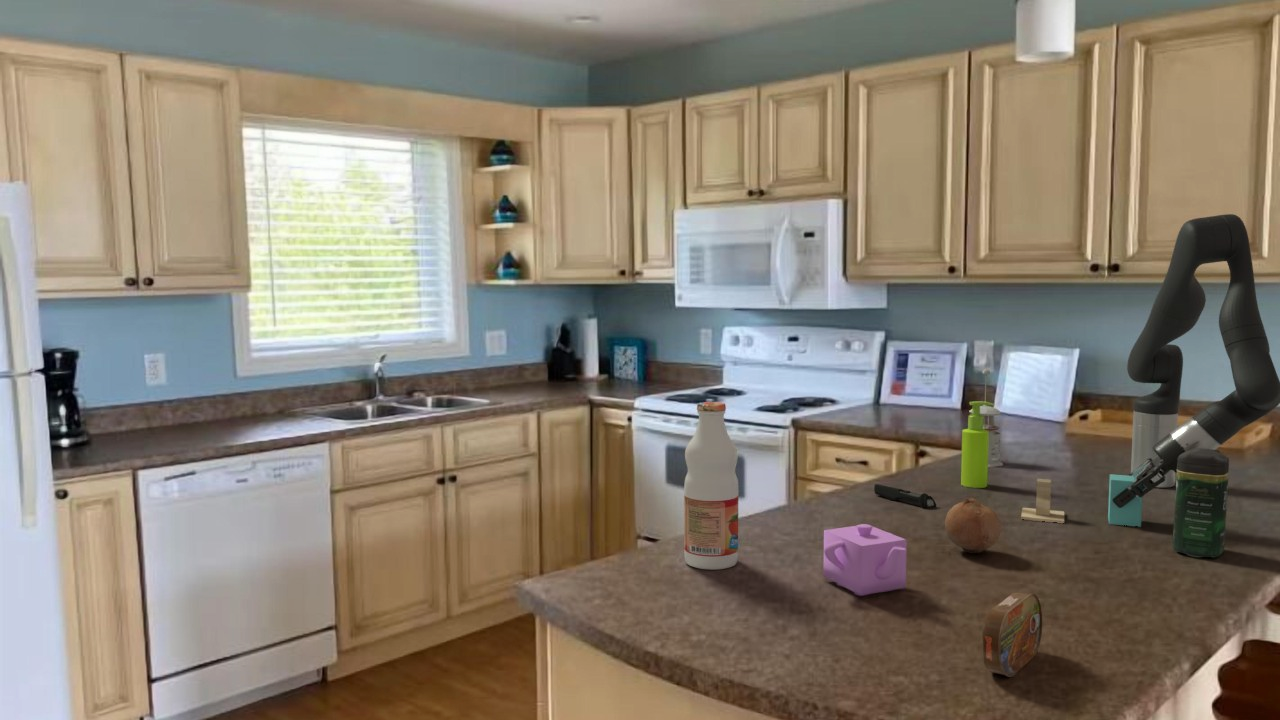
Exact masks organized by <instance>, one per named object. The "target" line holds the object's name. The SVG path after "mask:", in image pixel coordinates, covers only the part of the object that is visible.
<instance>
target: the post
mask: <svg viewBox="0 0 1280 720" xmlns="http://www.w3.org/2000/svg"><path fill="white" fill-rule="evenodd" d="M1051 490H1052V479H1047V478H1045V479H1044V478H1037V479H1036V503H1035V508H1031V507H1030V508H1029V507H1022V509H1021V515H1020V520H1022V519H1024V520H1023V521H1033V522H1034V521H1035V522H1042V521H1045V522H1044V523H1053V522H1057V523H1056V524H1063V523H1064V524H1065V511H1064V510H1052V509H1051V493H1052V492H1051Z"/></svg>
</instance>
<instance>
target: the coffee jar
mask: <svg viewBox="0 0 1280 720" xmlns="http://www.w3.org/2000/svg"><path fill="white" fill-rule="evenodd" d="M1177 460H1178V462H1177V473H1176V476H1175V495H1174V496H1175V499H1174V518H1173V531H1172V548H1173V550H1174V552H1178V553H1180V554H1184V555H1185V554H1186V555H1187V556H1189V557H1194V558H1204V557H1205V558H1217V557H1220V556H1221V555H1222V554H1223V553H1224V550H1225V538H1226V522H1227V511H1228V510H1227V508H1228V496H1229V495H1228V493H1229V474H1230V471H1229V470H1230V469H1229V467H1230V462H1229V461H1230V459H1229V456H1227V455H1226V454H1223V453H1222V452H1221V451H1220V450H1219V449H1216V450H1213V449H1204V448H1194V449H1192V450H1189V451H1186V452H1184V453H1182V454H1181V455H1179V457H1178V459H1177Z"/></svg>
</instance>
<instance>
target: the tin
mask: <svg viewBox="0 0 1280 720" xmlns="http://www.w3.org/2000/svg"><path fill="white" fill-rule="evenodd" d="M981 630H982V631H981V638H982V655H983V657H982V658H983V659H982V661H983V665H984V666H985V669H986V670H987V671H989V672H990V673H993V674H997V675H1001V676H1005V677H1008V678H1012V677H1014V676H1016V674H1017V673H1018V672H1019V671H1021V669H1023V668H1024V666H1026V664H1028V663H1029V662H1030V661H1031V660H1033V659H1034V657H1035V656H1036V654H1037V652H1038V650H1039V648H1040V644H1041V639H1042V635H1043V634H1042V633H1043V611H1042V605H1041V600H1040V599H1039V597H1038V595H1036V594H1035V593H1023V592H1017V591H1016V592H1013V593H1011V594H1009V595H1007V597H1005V598H1004V599H1003V600H1001V601H1000V602H998V603H997V604H996V605H995V606H993V607H992V608H991V609H989V611H988V612H987V614H986V616H985V619H984V622H983V624H982V629H981Z"/></svg>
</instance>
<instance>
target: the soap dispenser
mask: <svg viewBox="0 0 1280 720" xmlns="http://www.w3.org/2000/svg"><path fill="white" fill-rule="evenodd" d="M969 405H970V406H971V407H972V408H971V409H972V414H971V413H970V414H969V415H968V417H967V419H968V420H967V428H964V429H962V431H961V432H962V433H961V434H962V435H961V436H962V437H961V467H960V469H961V470H960V485H961V486H962V485H963V486H962V487H966V488H971V487H972V488H974V489H983V488H986V487H988V474H989V473H988V472H989V471H988V470H989V469H988V468H989V467H988V443H989V431H987V430H984V429H983V424H984V416H982V415H981V414H980V406H983V405H987V406H990V407H994V406H995V403H993V402H990V401H986V402H985V400H984V401H983V400H980V401H978V400H977V401H969Z"/></svg>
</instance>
